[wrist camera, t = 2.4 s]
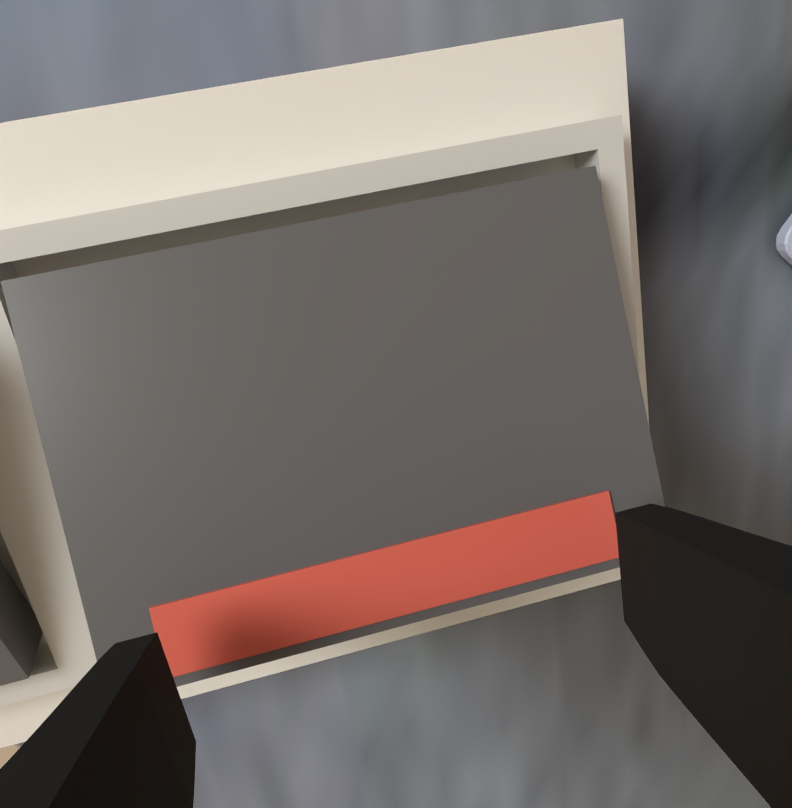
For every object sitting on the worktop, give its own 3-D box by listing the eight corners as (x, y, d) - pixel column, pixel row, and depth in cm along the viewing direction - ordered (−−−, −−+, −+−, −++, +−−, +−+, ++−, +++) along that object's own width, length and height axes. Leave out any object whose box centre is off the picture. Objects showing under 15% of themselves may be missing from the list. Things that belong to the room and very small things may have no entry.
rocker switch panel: (557, 55, 15) (652, 2, 11) (600, 514, 19) (683, 591, 15) (-698, 272, 12) (-1142, 299, 8) (-355, 762, 16) (-555, 935, 12)
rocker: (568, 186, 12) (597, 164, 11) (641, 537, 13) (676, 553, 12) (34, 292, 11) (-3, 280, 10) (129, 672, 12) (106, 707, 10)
